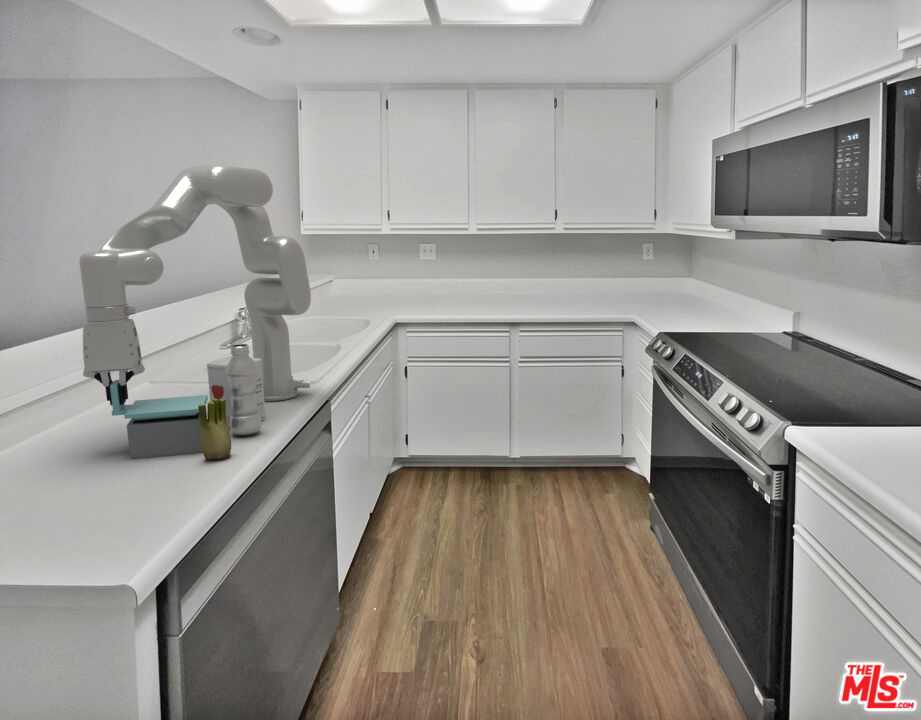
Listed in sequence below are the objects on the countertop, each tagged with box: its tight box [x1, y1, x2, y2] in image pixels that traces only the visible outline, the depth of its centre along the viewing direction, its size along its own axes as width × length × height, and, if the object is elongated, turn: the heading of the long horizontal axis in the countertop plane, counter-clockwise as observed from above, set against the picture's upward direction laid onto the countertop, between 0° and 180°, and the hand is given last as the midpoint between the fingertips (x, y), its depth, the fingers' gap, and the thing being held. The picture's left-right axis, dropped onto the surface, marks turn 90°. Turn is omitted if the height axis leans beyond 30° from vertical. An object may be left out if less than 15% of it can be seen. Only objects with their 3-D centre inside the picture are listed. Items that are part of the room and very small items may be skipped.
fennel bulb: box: [198, 399, 232, 461], centre depth 143 cm, size 6×5×12 cm
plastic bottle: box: [226, 343, 262, 436], centre depth 158 cm, size 6×7×20 cm
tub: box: [126, 405, 207, 460], centre depth 151 cm, size 14×11×7 cm
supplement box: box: [206, 356, 266, 429], centre depth 168 cm, size 9×9×15 cm
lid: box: [110, 379, 209, 420], centre depth 149 cm, size 18×12×7 cm, turn 104°
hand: (118, 403), depth 148 cm, fingers closed on lid, 1 cm apart
